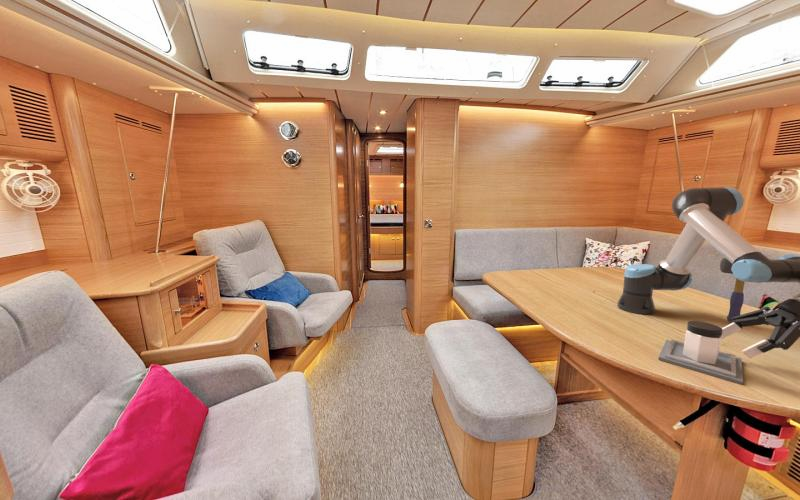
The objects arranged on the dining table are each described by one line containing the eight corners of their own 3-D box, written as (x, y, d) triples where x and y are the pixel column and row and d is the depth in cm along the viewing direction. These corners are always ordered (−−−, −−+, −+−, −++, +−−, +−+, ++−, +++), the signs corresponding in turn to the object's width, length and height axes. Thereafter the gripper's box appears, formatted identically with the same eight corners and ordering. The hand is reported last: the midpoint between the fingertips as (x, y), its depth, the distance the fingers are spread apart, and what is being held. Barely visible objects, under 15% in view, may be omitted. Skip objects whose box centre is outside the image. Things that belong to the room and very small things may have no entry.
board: (658, 359, 99) (658, 357, 99) (666, 341, 111) (666, 339, 111) (742, 384, 84) (743, 381, 84) (740, 361, 97) (741, 358, 96)
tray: (665, 357, 98) (665, 354, 98) (671, 342, 109) (671, 339, 108) (735, 377, 86) (736, 373, 86) (734, 358, 97) (735, 355, 96)
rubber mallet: (716, 322, 127) (726, 258, 122) (710, 316, 133) (720, 255, 128) (758, 328, 120) (770, 261, 115) (749, 322, 126) (761, 258, 122)
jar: (714, 367, 92) (720, 333, 90) (680, 356, 98) (685, 325, 96) (719, 358, 97) (724, 326, 95) (686, 349, 103) (691, 318, 101)
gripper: (863, 334, 73) (771, 374, 82) (781, 303, 96) (716, 337, 104) (836, 312, 75) (748, 354, 83) (762, 287, 97) (699, 321, 105)
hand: (730, 344), depth 94 cm, fingers open, 13 cm apart
